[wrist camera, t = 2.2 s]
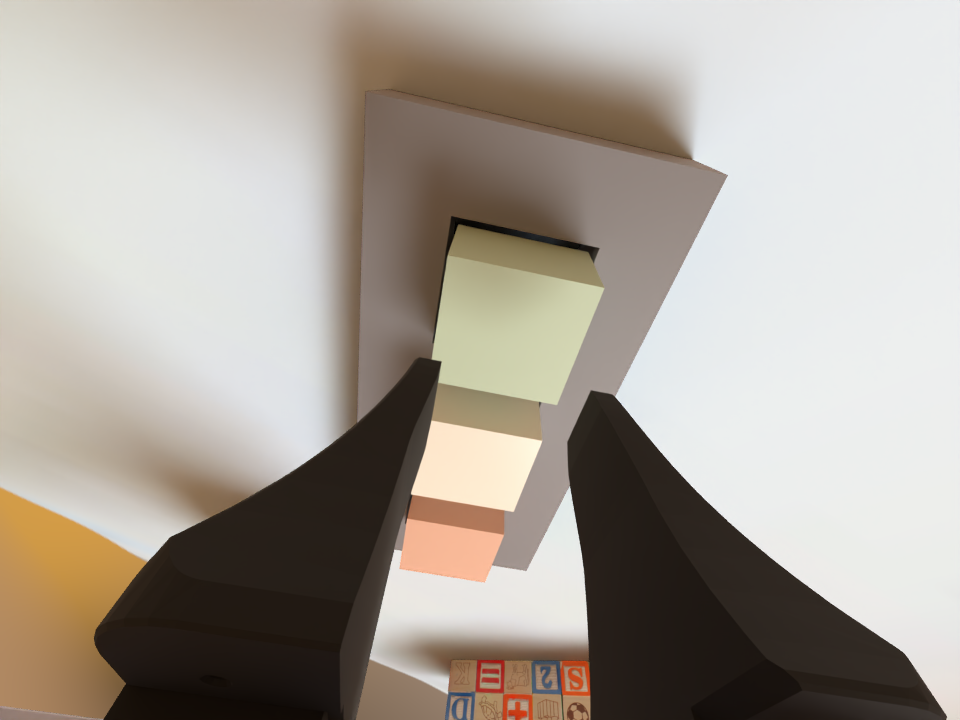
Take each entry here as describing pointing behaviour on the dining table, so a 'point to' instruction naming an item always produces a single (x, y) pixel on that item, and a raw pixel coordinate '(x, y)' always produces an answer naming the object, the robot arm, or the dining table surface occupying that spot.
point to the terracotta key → (451, 538)
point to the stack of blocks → (518, 690)
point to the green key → (513, 314)
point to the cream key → (479, 448)
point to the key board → (529, 208)
